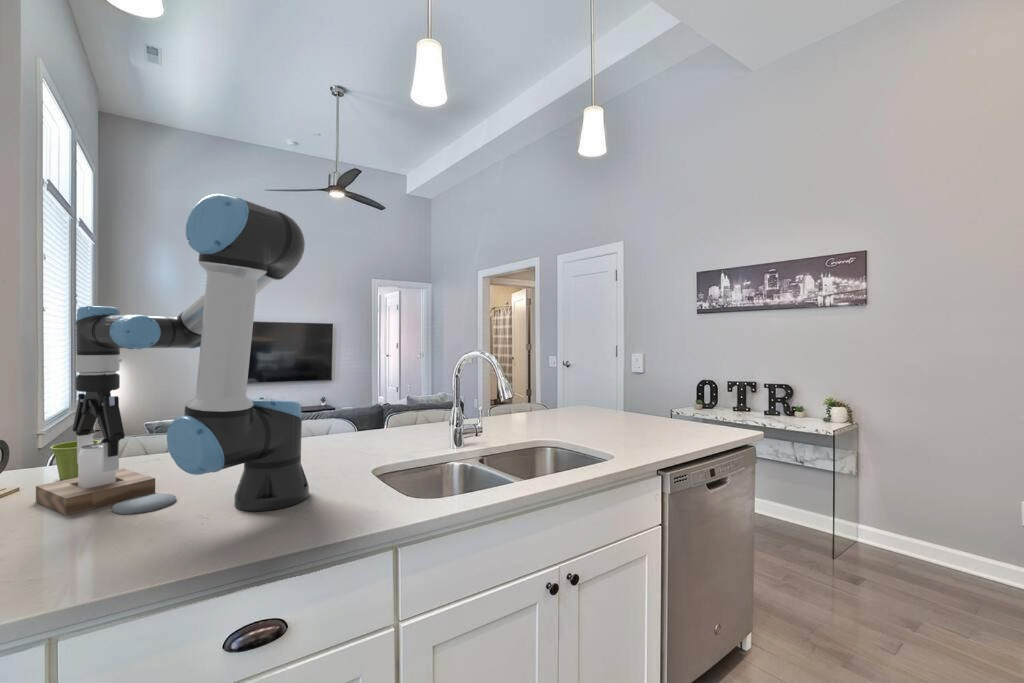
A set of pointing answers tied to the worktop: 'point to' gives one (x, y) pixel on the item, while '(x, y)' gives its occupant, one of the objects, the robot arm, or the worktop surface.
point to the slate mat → (144, 503)
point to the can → (93, 467)
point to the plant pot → (67, 459)
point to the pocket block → (93, 492)
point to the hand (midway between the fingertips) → (97, 466)
